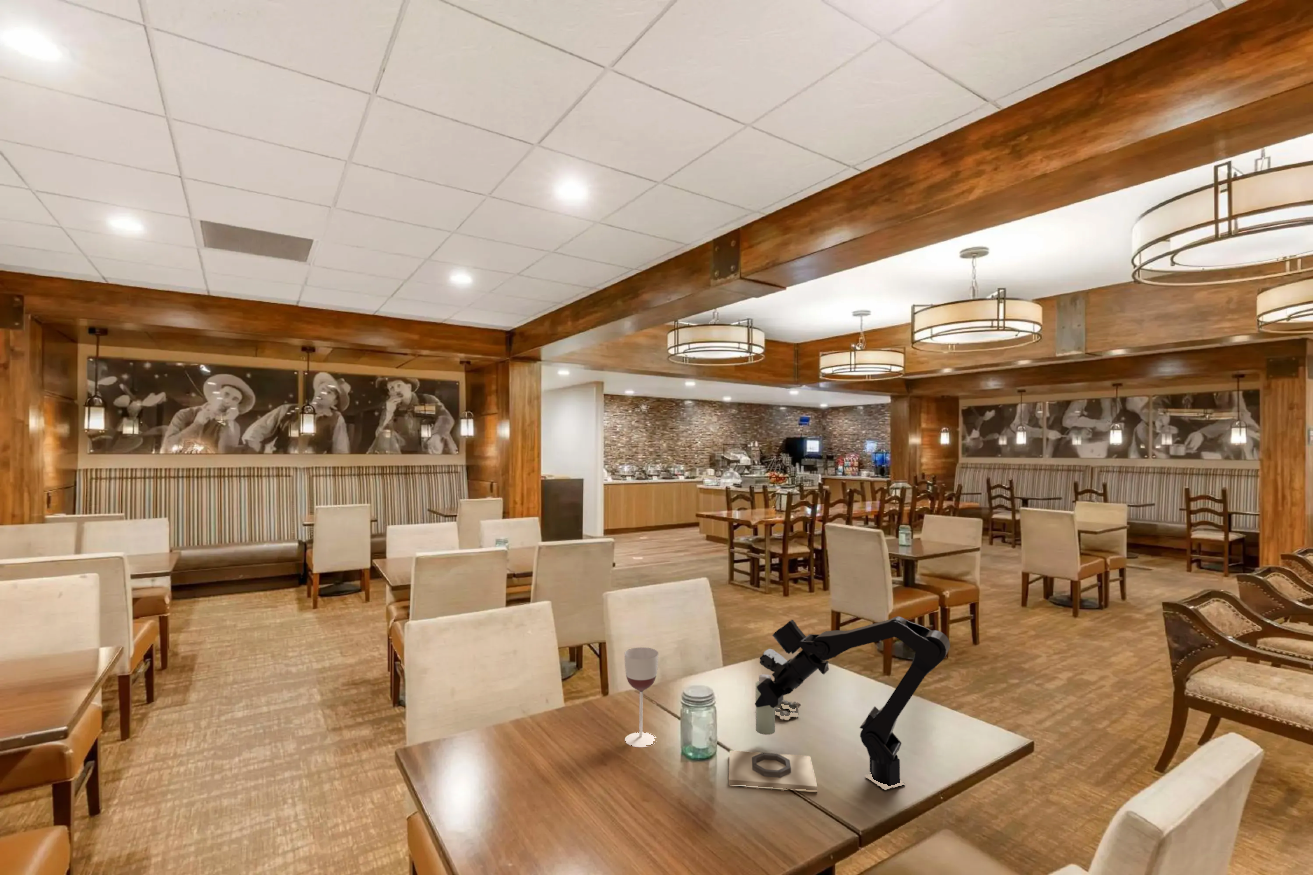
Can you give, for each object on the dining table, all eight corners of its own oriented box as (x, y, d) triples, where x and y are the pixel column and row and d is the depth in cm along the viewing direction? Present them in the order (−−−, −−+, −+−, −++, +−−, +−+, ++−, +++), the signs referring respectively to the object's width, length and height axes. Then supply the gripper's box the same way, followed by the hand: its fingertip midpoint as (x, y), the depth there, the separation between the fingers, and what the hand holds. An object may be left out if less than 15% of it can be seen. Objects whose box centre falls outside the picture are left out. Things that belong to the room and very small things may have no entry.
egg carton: (802, 718, 176) (802, 704, 176) (783, 723, 173) (783, 709, 173) (778, 704, 186) (778, 691, 186) (759, 709, 182) (759, 695, 182)
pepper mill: (778, 732, 156) (778, 678, 157) (762, 735, 155) (762, 680, 155) (768, 724, 161) (767, 672, 162) (752, 727, 159) (751, 674, 160)
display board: (810, 762, 150) (810, 751, 150) (817, 792, 136) (817, 780, 136) (729, 756, 153) (729, 745, 153) (728, 785, 139) (728, 773, 139)
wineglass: (659, 731, 166) (659, 647, 167) (655, 749, 156) (656, 659, 157) (626, 730, 167) (627, 646, 168) (621, 747, 157) (621, 658, 158)
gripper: (791, 633, 164) (755, 666, 170) (764, 650, 149) (724, 686, 155) (820, 667, 160) (781, 700, 165) (794, 689, 144) (753, 725, 150)
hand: (760, 701), depth 159 cm, fingers closed on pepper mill, 5 cm apart
